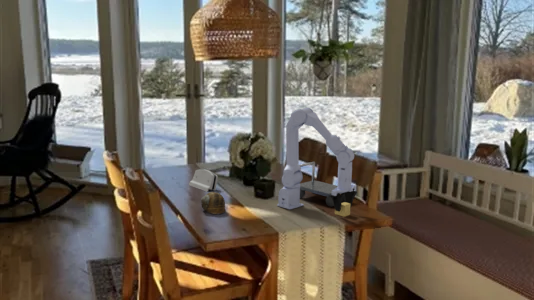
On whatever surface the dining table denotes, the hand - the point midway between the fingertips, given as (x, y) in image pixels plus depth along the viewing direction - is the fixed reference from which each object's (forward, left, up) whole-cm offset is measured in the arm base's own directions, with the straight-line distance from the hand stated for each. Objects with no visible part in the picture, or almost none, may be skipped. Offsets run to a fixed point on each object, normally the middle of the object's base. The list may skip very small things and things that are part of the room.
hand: (343, 208), depth 211 cm
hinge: (-17, +73, -3) cm, 75 cm away
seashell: (-38, +40, -3) cm, 55 cm away
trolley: (+11, +20, -2) cm, 23 cm away
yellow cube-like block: (0, 0, -3) cm, 3 cm away
